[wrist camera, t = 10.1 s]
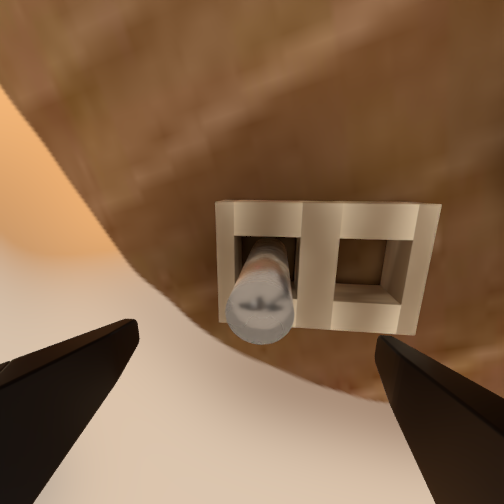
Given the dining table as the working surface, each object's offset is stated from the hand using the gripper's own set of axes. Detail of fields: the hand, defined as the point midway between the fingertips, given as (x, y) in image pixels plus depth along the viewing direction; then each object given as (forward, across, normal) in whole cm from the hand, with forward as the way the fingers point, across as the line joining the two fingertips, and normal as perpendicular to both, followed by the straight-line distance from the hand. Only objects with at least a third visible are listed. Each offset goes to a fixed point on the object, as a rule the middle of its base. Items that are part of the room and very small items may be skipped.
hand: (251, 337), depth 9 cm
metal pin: (+12, 0, 0) cm, 12 cm away
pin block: (+12, -4, 0) cm, 12 cm away
